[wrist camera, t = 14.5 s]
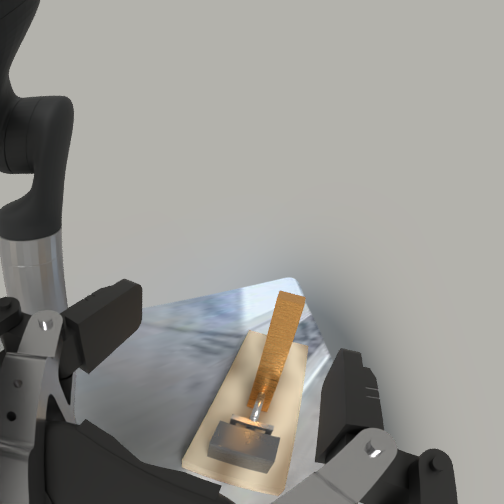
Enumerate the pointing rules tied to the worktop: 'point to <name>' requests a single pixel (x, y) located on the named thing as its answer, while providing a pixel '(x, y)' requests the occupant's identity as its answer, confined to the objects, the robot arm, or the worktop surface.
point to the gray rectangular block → (243, 447)
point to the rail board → (235, 402)
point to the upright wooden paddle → (273, 358)
